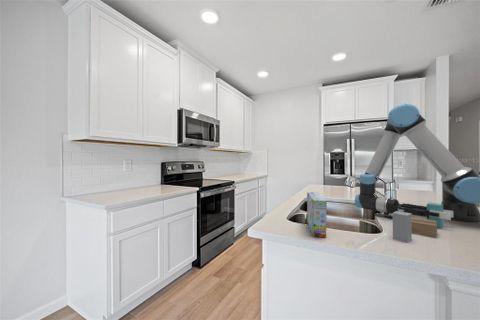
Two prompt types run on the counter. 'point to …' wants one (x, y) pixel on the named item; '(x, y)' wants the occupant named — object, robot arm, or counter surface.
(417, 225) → the walnut block
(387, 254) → the counter surface
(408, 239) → the grey pillar
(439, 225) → the teal pillar
